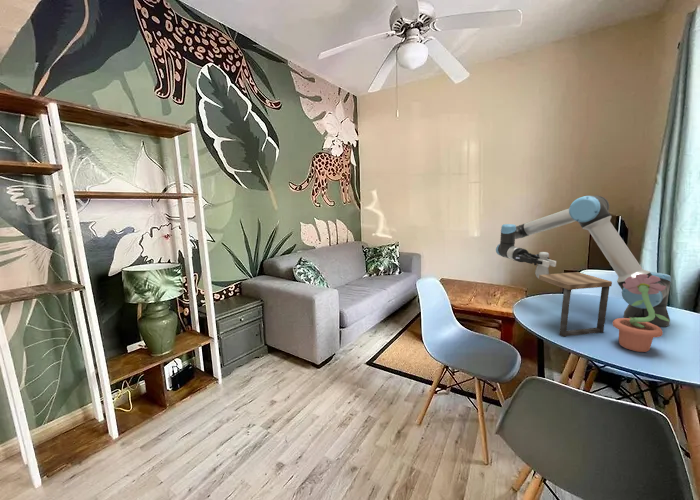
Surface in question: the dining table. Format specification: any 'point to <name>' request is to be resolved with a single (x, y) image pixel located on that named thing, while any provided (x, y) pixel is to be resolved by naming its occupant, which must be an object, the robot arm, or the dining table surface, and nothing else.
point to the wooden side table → (569, 283)
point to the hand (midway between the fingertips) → (551, 264)
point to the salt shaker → (541, 269)
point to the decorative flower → (639, 330)
